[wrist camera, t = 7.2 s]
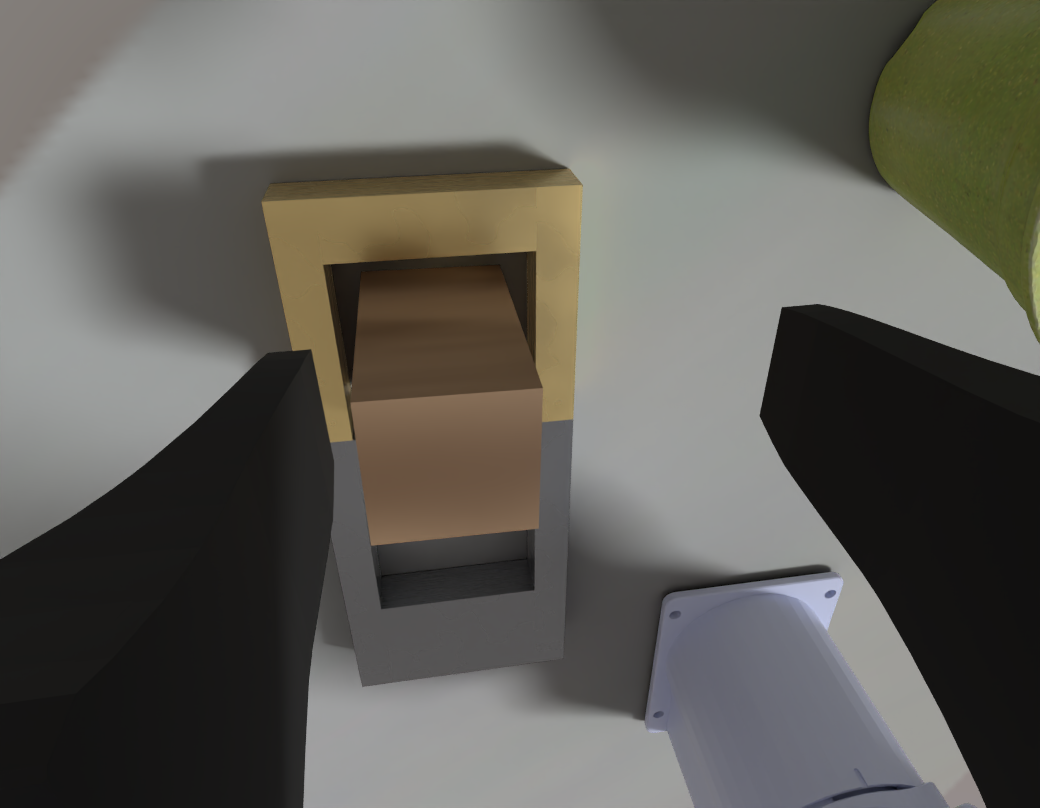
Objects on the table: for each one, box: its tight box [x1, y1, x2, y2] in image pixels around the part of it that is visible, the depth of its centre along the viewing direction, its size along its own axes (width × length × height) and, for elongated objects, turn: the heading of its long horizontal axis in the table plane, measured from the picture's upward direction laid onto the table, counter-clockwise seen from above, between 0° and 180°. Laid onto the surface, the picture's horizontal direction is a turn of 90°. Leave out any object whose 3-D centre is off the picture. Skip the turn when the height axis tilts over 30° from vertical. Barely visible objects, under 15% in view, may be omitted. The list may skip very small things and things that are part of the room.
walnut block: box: [350, 265, 543, 546], centre depth 19 cm, size 4×4×7 cm
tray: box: [262, 169, 583, 687], centre depth 24 cm, size 19×8×2 cm, turn 1°
